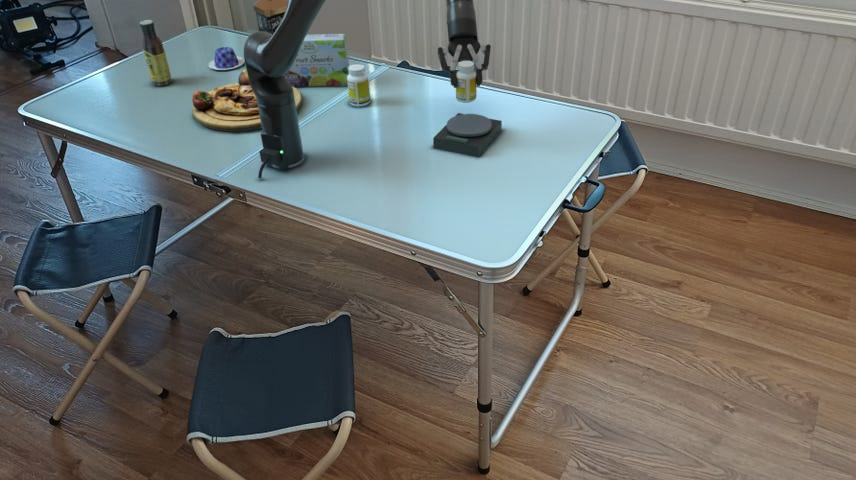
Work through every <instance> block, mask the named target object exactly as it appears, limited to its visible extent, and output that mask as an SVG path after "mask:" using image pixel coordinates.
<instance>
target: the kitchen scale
mask: <svg viewBox="0 0 856 480" xmlns="http://www.w3.org/2000/svg"><path fill="white" fill-rule="evenodd" d="M502 121H503V120H500V119H493V118H489V117H487V116H484V115H481V114H477V113H460V112H458V113H457V114H456V115H454V116H453V117H451V118H449V119H448V120H447V122H446V125H444V127H443V128H441V129H440V131H439V132H437V133H436V135H434V137H433V138H432V142H433V149H437V150H442V151H447V152H451V153H457V154H462V155H468V156H471V157H475V158H476V157H477V158H479V157H480V156H481V155H482V154H483V152H484V151H485V150H486V149H487V148H488V147H489V146H490V145H491V143H492V142H494V140H495V139H496V138H497V137H498V135H499V134H500V133H501V132H502V129H503V127H502V124H503V122H502Z"/></svg>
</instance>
